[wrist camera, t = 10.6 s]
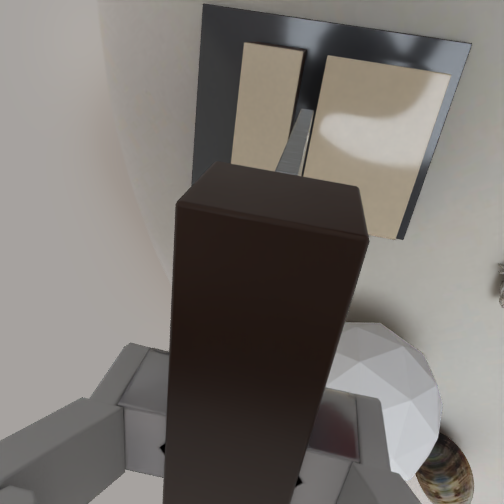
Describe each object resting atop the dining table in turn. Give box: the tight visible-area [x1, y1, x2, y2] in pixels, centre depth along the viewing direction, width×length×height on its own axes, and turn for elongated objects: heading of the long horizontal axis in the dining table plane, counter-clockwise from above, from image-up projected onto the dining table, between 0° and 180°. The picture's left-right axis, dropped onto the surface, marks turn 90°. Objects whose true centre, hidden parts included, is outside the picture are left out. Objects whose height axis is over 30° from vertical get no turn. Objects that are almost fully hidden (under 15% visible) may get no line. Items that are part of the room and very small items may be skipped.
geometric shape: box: [326, 322, 443, 481], centre depth 38 cm, size 14×15×15 cm
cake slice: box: [231, 42, 307, 171], centre depth 32 cm, size 12×4×5 cm, turn 172°
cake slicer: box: [163, 109, 369, 504], centre depth 11 cm, size 10×2×9 cm, turn 173°
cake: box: [191, 4, 472, 240], centre depth 32 cm, size 16×20×6 cm
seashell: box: [415, 433, 474, 504], centre depth 45 cm, size 10×6×8 cm, turn 28°
